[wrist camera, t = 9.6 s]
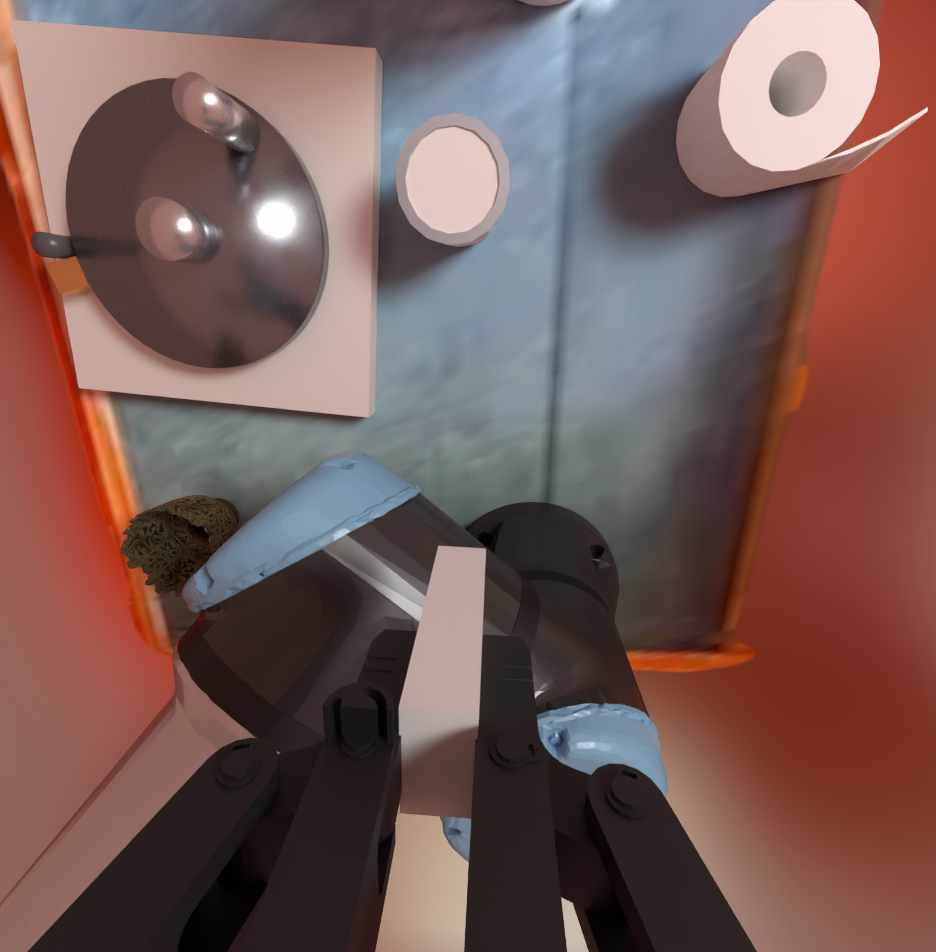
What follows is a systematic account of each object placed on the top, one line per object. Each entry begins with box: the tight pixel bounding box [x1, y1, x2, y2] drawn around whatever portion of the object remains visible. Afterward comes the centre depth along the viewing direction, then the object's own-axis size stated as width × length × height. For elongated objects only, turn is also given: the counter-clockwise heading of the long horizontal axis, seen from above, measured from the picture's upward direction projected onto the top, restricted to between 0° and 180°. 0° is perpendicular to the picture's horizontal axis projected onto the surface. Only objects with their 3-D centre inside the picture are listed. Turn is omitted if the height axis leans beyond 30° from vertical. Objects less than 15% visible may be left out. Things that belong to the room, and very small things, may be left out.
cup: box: [121, 495, 239, 596], centre depth 41 cm, size 8×7×8 cm
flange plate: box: [46, 72, 329, 368], centre depth 32 cm, size 18×20×7 cm
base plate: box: [12, 20, 383, 418], centre depth 35 cm, size 24×24×5 cm
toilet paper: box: [676, 0, 928, 197], centre depth 29 cm, size 8×11×7 cm
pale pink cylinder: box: [395, 113, 510, 247], centre depth 32 cm, size 7×7×7 cm
